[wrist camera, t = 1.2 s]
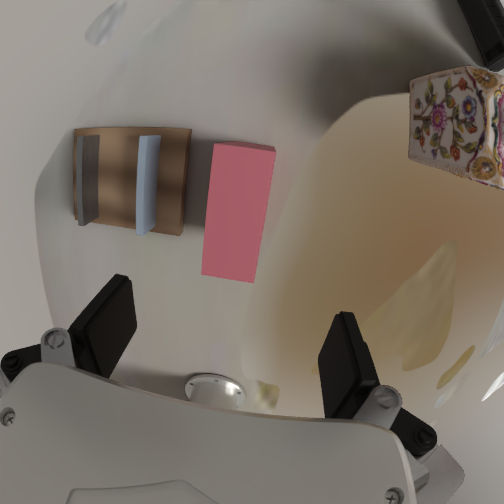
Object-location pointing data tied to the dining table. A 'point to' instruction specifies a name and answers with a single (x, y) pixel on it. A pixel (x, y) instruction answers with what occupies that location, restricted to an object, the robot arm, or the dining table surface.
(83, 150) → the bookend
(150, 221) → the divider
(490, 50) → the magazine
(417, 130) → the decorative jar
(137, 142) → the shelf board
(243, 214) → the red block
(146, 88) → the dining table surface
